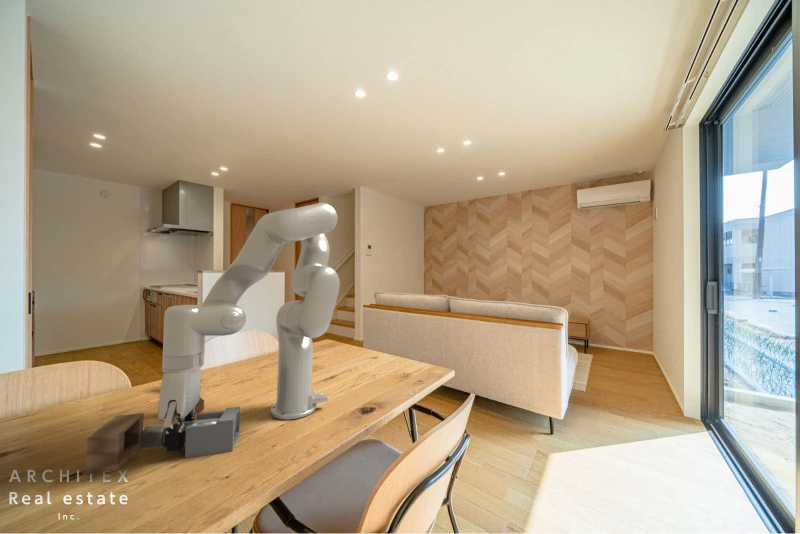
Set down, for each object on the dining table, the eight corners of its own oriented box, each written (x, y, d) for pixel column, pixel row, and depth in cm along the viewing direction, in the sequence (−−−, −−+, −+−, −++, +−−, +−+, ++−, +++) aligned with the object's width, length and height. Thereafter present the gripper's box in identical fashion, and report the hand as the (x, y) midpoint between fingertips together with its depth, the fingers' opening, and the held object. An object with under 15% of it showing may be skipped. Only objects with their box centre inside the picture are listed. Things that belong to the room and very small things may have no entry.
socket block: (142, 444, 66) (144, 413, 66) (117, 470, 58) (119, 434, 58) (115, 447, 65) (116, 415, 65) (85, 474, 56) (87, 437, 56)
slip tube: (237, 431, 70) (238, 410, 70) (231, 443, 65) (232, 420, 65) (151, 442, 65) (152, 419, 65) (138, 455, 60) (139, 431, 60)
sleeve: (239, 435, 71) (240, 406, 71) (232, 451, 65) (233, 419, 65) (196, 440, 68) (197, 410, 69) (184, 457, 62) (186, 425, 62)
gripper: (180, 351, 72) (177, 426, 72) (142, 375, 56) (138, 471, 55) (215, 350, 74) (212, 422, 74) (188, 372, 58) (184, 464, 58)
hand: (180, 442), depth 65 cm, fingers closed on slip tube, 4 cm apart
